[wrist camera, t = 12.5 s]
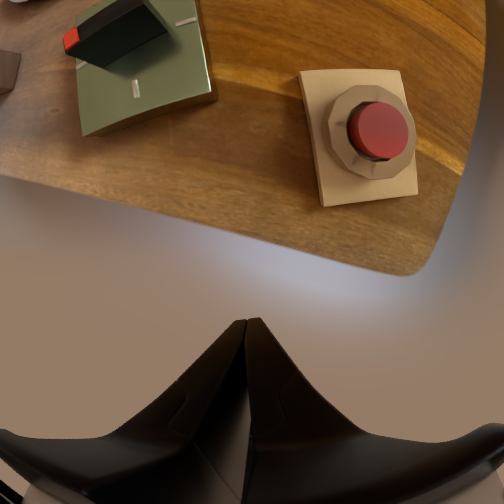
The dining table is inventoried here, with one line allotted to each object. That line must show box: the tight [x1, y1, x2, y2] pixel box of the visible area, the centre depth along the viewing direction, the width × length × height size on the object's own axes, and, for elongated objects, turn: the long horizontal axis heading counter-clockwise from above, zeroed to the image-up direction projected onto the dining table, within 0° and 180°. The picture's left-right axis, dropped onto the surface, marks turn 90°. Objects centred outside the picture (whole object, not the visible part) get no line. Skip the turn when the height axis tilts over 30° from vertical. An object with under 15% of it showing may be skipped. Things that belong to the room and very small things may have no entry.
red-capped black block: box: [63, 0, 167, 68], centre depth 11 cm, size 6×2×5 cm, turn 110°
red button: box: [349, 102, 408, 158], centre depth 15 cm, size 4×4×2 cm
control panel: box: [76, 0, 218, 137], centre depth 15 cm, size 12×10×3 cm
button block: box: [298, 69, 418, 207], centre depth 17 cm, size 10×8×3 cm
